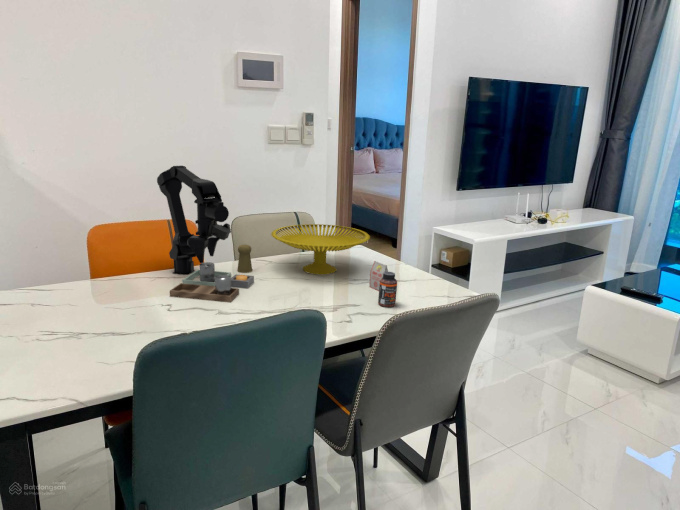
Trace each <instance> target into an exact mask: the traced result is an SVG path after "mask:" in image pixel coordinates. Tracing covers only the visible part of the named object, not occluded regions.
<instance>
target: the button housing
mask: <svg viewBox="0 0 680 510" xmlns="http://www.w3.org/2000/svg"><path fill="white" fill-rule="evenodd" d="M237 275H238V274H237V273H236V274H234V275H233V276H231V288H238V289H249V288H250V287H251V286H252V285H253V284H254V283H255V275H247V274H245V275H246V276H247V280H246V281H244V280H236V276H237Z"/></svg>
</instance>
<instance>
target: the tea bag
mask: <svg viewBox="0 0 680 510" xmlns="http://www.w3.org/2000/svg"><path fill="white" fill-rule="evenodd" d="M384 272H389V270H388V265H387V264H384V263H382V262H379V261H377V260H374V261H373V264H372V267H371V270H370V273H369V285H368V288H370V289H373V290H375V291H377V292H379V285H380V279H381V278H383V273H384Z"/></svg>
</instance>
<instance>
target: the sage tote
mask: <svg viewBox="0 0 680 510" xmlns="http://www.w3.org/2000/svg"><path fill="white" fill-rule="evenodd" d="M218 275H229V276H231V277H232V272H227V271H218V270H215V277H216V276H218ZM197 277H200V269H196V270H195V271H193V272H192V273H190V274H189V275H187V276H186V277H185V278H183V279H182V280H181V282H182V283H184V284H195V285H206V286H215V282H204V281H200V280H194V279H196V278H197Z"/></svg>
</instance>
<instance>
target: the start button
mask: <svg viewBox="0 0 680 510" xmlns="http://www.w3.org/2000/svg"><path fill="white" fill-rule="evenodd" d="M246 275H247V274H237V276H236V280H244V281H246V280H247V276H246Z"/></svg>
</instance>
